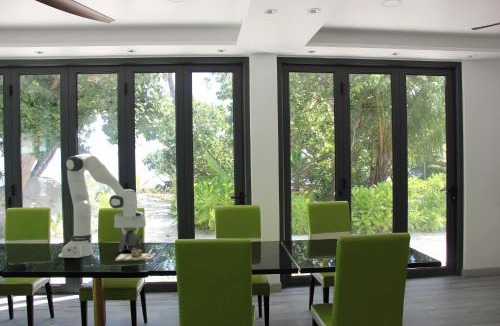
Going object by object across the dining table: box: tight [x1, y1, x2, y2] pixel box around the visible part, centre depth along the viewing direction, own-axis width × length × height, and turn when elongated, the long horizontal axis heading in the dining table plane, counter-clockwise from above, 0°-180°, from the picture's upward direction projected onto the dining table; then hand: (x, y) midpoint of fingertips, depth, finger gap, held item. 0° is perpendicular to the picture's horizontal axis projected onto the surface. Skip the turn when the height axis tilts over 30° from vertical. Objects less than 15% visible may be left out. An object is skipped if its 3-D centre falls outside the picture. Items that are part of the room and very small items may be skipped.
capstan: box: [130, 249, 143, 258], centre depth 257 cm, size 13×7×4 cm, turn 20°
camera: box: [118, 227, 145, 254], centre depth 279 cm, size 11×17×20 cm, turn 79°
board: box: [114, 252, 156, 262], centre depth 260 cm, size 24×14×2 cm, turn 95°
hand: (130, 234), depth 254 cm, fingers open, 6 cm apart
